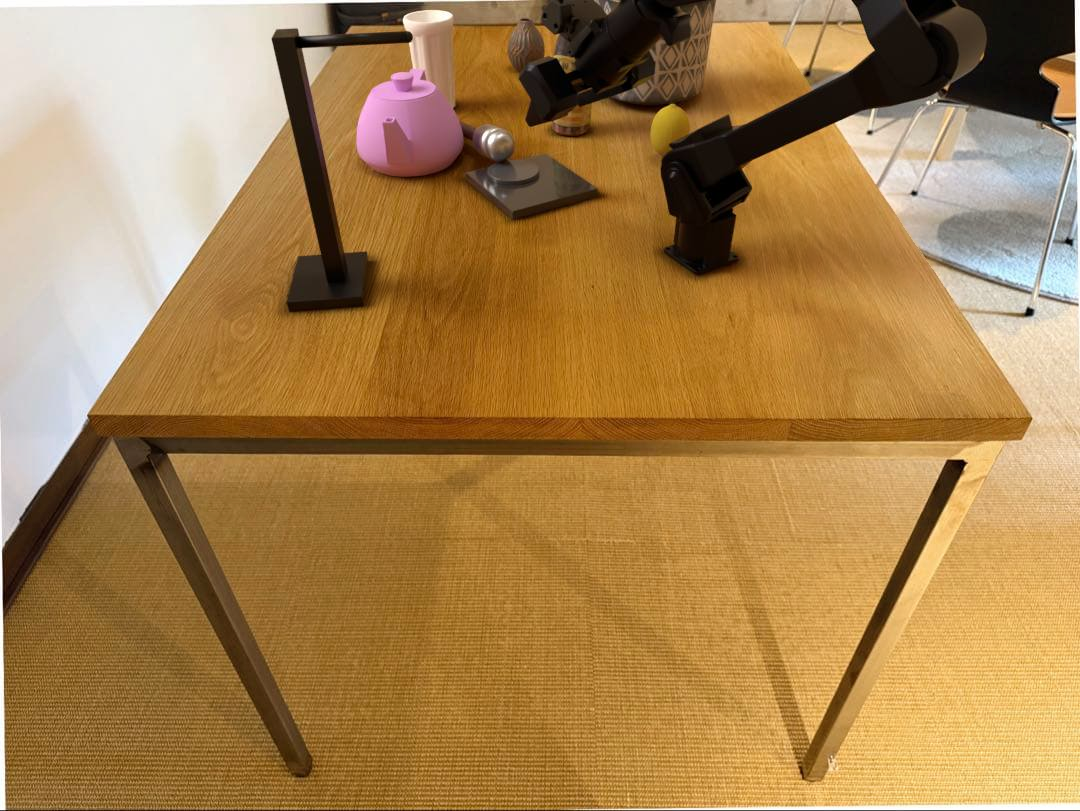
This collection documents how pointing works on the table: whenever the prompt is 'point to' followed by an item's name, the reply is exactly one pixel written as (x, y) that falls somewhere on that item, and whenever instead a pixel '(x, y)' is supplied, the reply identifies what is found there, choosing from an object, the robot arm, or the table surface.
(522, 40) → the vase
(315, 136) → the hanger
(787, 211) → the table surface
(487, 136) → the silver tipped brown rod
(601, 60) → the robot arm
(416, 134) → the teapot
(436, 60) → the cup
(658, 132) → the lemon
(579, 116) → the sauce bottle
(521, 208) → the hob
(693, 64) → the planter
